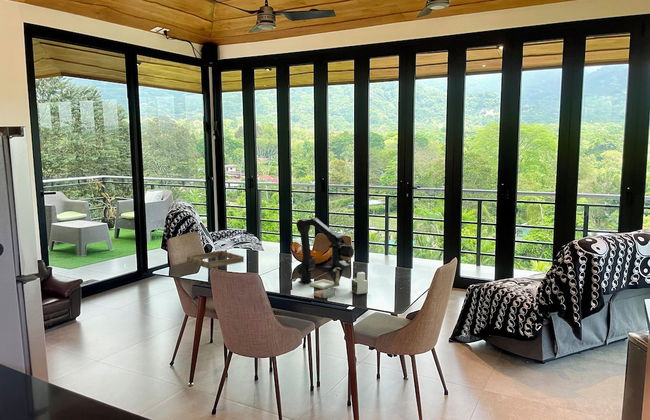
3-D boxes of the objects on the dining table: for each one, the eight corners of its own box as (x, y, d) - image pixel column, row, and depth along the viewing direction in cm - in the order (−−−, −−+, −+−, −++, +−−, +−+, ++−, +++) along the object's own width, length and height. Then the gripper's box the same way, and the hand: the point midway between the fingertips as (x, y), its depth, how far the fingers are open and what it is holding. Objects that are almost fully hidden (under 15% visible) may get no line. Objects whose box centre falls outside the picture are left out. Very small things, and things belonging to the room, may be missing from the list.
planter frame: (187, 261, 365) (186, 256, 364) (221, 255, 385) (221, 250, 384) (208, 268, 344) (208, 262, 343) (243, 261, 364) (243, 256, 364)
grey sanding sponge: (322, 297, 277) (322, 290, 277) (332, 294, 283) (332, 287, 282) (325, 298, 276) (325, 291, 275) (335, 295, 281) (335, 288, 281)
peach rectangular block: (314, 295, 282) (314, 291, 282) (323, 293, 286) (323, 289, 286) (320, 298, 277) (320, 294, 277) (330, 296, 282) (330, 291, 281)
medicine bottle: (351, 291, 290) (351, 271, 289) (362, 289, 293) (362, 269, 291) (356, 294, 284) (357, 273, 282) (367, 292, 286) (368, 272, 285)
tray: (309, 285, 301) (309, 282, 301) (323, 282, 309) (323, 279, 309) (323, 289, 293) (323, 286, 293) (337, 285, 301) (337, 282, 301)
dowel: (332, 285, 296) (332, 270, 295) (336, 284, 298) (336, 269, 297) (336, 286, 294) (336, 271, 292) (340, 285, 296) (340, 270, 295)
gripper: (335, 260, 281) (334, 287, 283) (357, 255, 294) (357, 281, 296) (321, 257, 289) (321, 283, 291) (343, 252, 302) (343, 277, 304)
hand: (336, 281), depth 296 cm, fingers closed on dowel, 3 cm apart
